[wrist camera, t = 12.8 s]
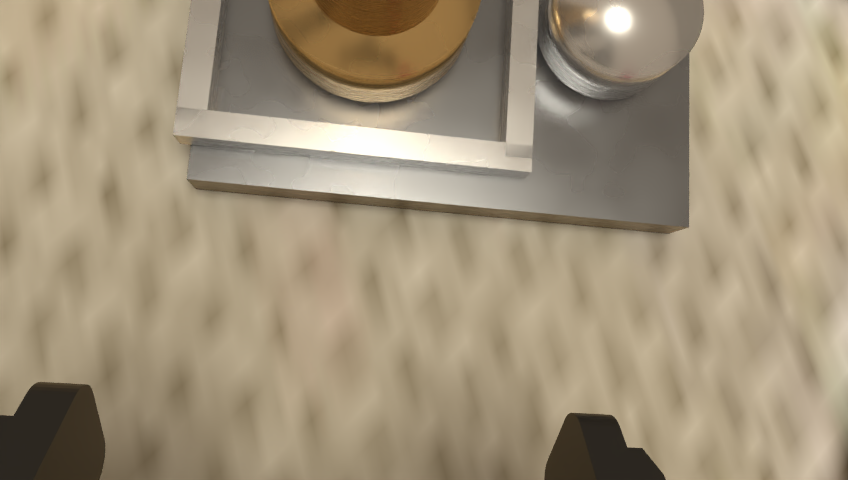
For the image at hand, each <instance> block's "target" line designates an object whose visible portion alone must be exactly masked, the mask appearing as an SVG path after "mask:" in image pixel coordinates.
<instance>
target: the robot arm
mask: <svg viewBox="0 0 848 480" xmlns="http://www.w3.org/2000/svg"><path fill="white" fill-rule="evenodd" d="M104 458H105V440H104V435H103V431H102V427H101V423H100V419H99V415H98V411H97V407H96V403H95V399H94V395H93V391H92V389H91V387H90V386H89V385H85V384H67V383H49V382H38V383H36V384H34V385H33V386H32V387H31V388H30V389H29V391H28V392H27V394H26V395H25V397H24V399H23V401H22V402H21V404H20V406H19V407H18V409H17V411H16V413H15V414H14V416H4V415H0V480H99V479H100V476H101V473H102V469H103V464H104ZM544 480H666V479H665V477H664V475H663V473H662V472H661V471H660V470H659V468H658V467H657V466H656V465H655V463H654V462H653V461H652V460H651V458H650V457H649V456H648V455H647V454H646V452H645V451H644V450H643V449H642V448H627V446H626V443H625V440H624V437H623V434H622V432H621V429H620V426H619V424H618V422H617V420H616V419H615V417H613V416H612V415H603V414H584V413H569V414H568V415H567V416H566V418H565V421H564V423H563V425H562V428H561V430H560V432H559V435H558V437H557V440H556V442H555V444H554V447H553V449H552V451H551V454H550V456H549V459H548V461H547V464H546V469H545V479H544Z"/></svg>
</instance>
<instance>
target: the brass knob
mask: <svg viewBox="0 0 848 480" xmlns="http://www.w3.org/2000/svg"><path fill="white" fill-rule="evenodd" d="M268 2H269V6H270V11H271V15H272V20H273V24H274V28H275V32H276V34H277V37H278V40H279V42H280V44H281V46H282V48H283V50H284V51H285V53H286V55H287V56H288V58H289V59H290V60H291V62H292V63H293V64H294V65H295V67H296V68H297V69H298V70H299V71H300V72H301V73H302V74H303V75H304V76H306V77H307V78H308V79H310V80H311V81H312V82H313V83H315V84H316V85H318V86H320V87H321V88H323V89H325V90H327V91H329V92H331V93H333V94H336V95H338V96H341V97H344V98H348V99H351V100H357V101H362V102H390V101H395V100H400V99H404V98H407V97H410V96H413V95H415V94H417V93H419V92H421V91H423V90H425V89H427V88H429V87H430V86H431V85H433V84H434V83H436V82H437V81H438V80H439V79H440V78H442V77H443V76H444V75H445V74H446V73H447V71H448V70H449V69H450V68H451V67H452V66H453V64H454V63H455V61H456V59H457V58H458V56H459V55H460V52H461V50H462V48H463V45H464V43H465V41H466V38H467V36H468V34H469V31H470V29H471V26H472V24H473V22H474V19H475V17H476V15H477V12H478V9H479V6H480V2H481V0H268Z"/></svg>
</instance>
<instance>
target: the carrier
mask: <svg viewBox="0 0 848 480" xmlns="http://www.w3.org/2000/svg"><path fill="white" fill-rule="evenodd" d="M703 17H704V6H703V0H481V2H480V6H479V9H478V12H477V15H476V17H475V19H474V22H473V24H472V26H471V29H470V31H469V34H468V36H467V38H466V41H465V43H464V45H463V48H462V50H461V52H460V55H459V56H458V58H457V59H456V61H455V63H454V64H453V66H452V67H451V68H450V69H449V70H448V71H447V73H446V74H445V75H444V76H443V77H442V78H440V79H439V80H438V81H437V82H436V83H434V84H433V85H431V86H430V87H429V88H427V89H425V90H423V91H421V92H419V93H417V94H415V95H413V96H410V97H407V98H404V99H400V100H395V101H390V102H362V101H357V100H351V99H348V98H344V97H341V96H338V95H336V94H333V93H331V92H329V91H327V90H325V89H323V88H321V87H320V86H318V85H316V84H315V83H313V82H312V81H311V80H310V79H308V78H307V77H306V76H304V75H303V74H302V73H301V72H300V71H299V70H298V69H297V68H296V67H295V65H294V64H293V63H292V62H291V60H290V59H289V58H288V56H287V55H286V53H285V51H284V50H283V48H282V46H281V44H280V42H279V40H278V37H277V34H276V32H275V28H274V24H273V20H272V15H271V11H270V6H269V2H268V0H191V6H190V14H189V21H188V28H187V36H186V43H185V50H184V58H183V65H182V72H181V79H180V87H179V94H178V101H177V109H176V116H175V123H174V131H173V136H174V137H175V138H176V139H177V140H178V142H179V143H180V144H188V145H191V150H190V158H189V165H188V173H187V180H188V181H189V182H190V183H191V184H192V185H193V186H194V187H195V188H196V189H203V190H214V191H225V192H235V193H246V194H256V195H267V196H278V197H288V198H299V199H309V200H320V201H331V202H341V203H352V204H362V205H373V206H384V207H394V208H405V209H415V210H426V211H437V212H447V213H458V214H468V215H479V216H489V217H500V218H511V219H521V220H532V221H542V222H553V223H564V224H574V225H585V226H595V227H606V228H617V229H627V230H638V231H648V232H659V233H672V232H675V231H678V230H682V229H685V228H688V227H689V52H690V51H691V49H692V48H693V47H694V45H695V43H696V42H697V40H698V38H699V35H700V32H701V29H702V24H703Z"/></svg>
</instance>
